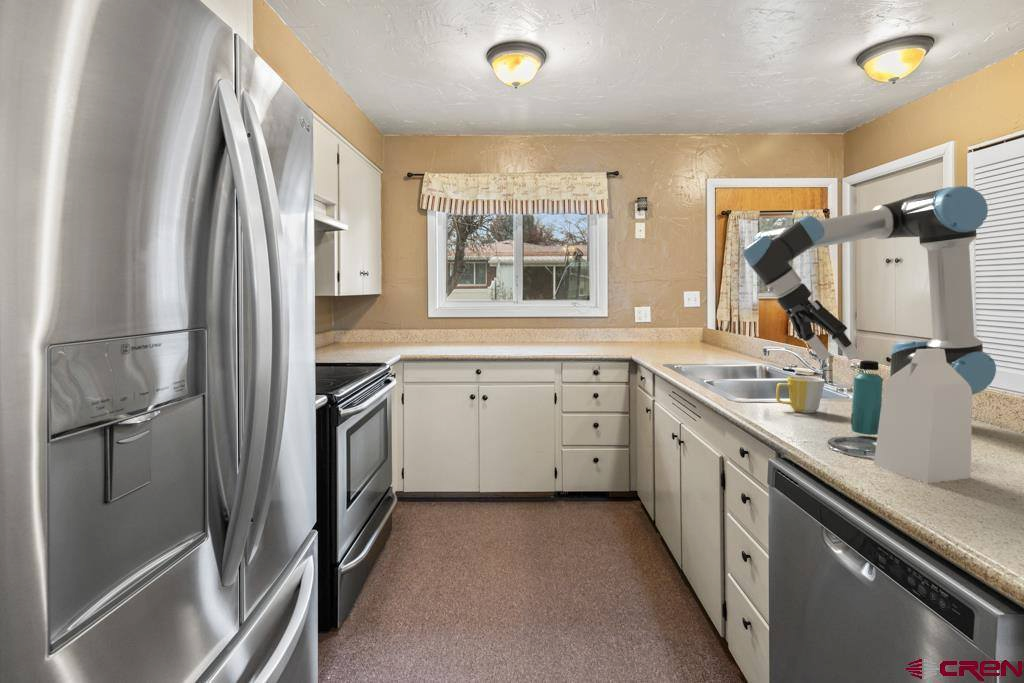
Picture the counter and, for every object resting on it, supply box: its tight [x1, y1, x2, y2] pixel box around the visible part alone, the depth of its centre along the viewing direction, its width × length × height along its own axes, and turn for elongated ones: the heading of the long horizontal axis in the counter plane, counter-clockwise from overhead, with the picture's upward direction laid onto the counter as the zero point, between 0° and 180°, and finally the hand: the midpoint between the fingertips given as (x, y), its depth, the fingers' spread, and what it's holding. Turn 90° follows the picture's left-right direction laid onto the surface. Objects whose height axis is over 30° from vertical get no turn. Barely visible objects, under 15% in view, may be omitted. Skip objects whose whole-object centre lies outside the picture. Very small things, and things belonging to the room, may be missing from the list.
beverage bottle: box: [850, 360, 884, 436], centre depth 139 cm, size 6×7×20 cm
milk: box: [873, 348, 973, 484], centre depth 113 cm, size 12×12×26 cm
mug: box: [775, 375, 826, 414], centre depth 170 cm, size 14×10×10 cm
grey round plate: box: [826, 436, 877, 459], centre depth 129 cm, size 14×14×1 cm
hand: (839, 357), depth 138 cm, fingers open, 13 cm apart
